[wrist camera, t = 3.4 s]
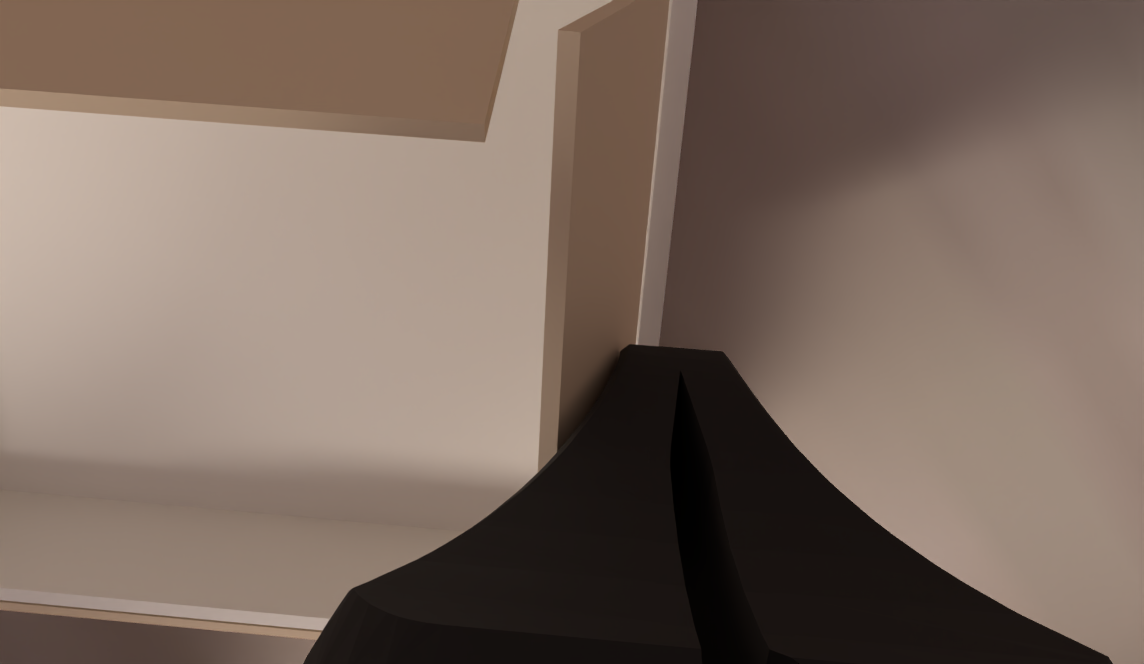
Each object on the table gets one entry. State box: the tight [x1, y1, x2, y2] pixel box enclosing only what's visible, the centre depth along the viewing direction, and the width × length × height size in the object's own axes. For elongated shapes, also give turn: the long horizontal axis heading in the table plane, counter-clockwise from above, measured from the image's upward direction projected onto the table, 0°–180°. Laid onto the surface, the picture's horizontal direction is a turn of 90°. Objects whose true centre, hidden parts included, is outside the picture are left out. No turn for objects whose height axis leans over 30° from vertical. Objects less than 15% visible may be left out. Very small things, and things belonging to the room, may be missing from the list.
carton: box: [0, 0, 698, 640], centre depth 15 cm, size 14×12×3 cm
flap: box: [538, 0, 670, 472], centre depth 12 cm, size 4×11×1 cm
